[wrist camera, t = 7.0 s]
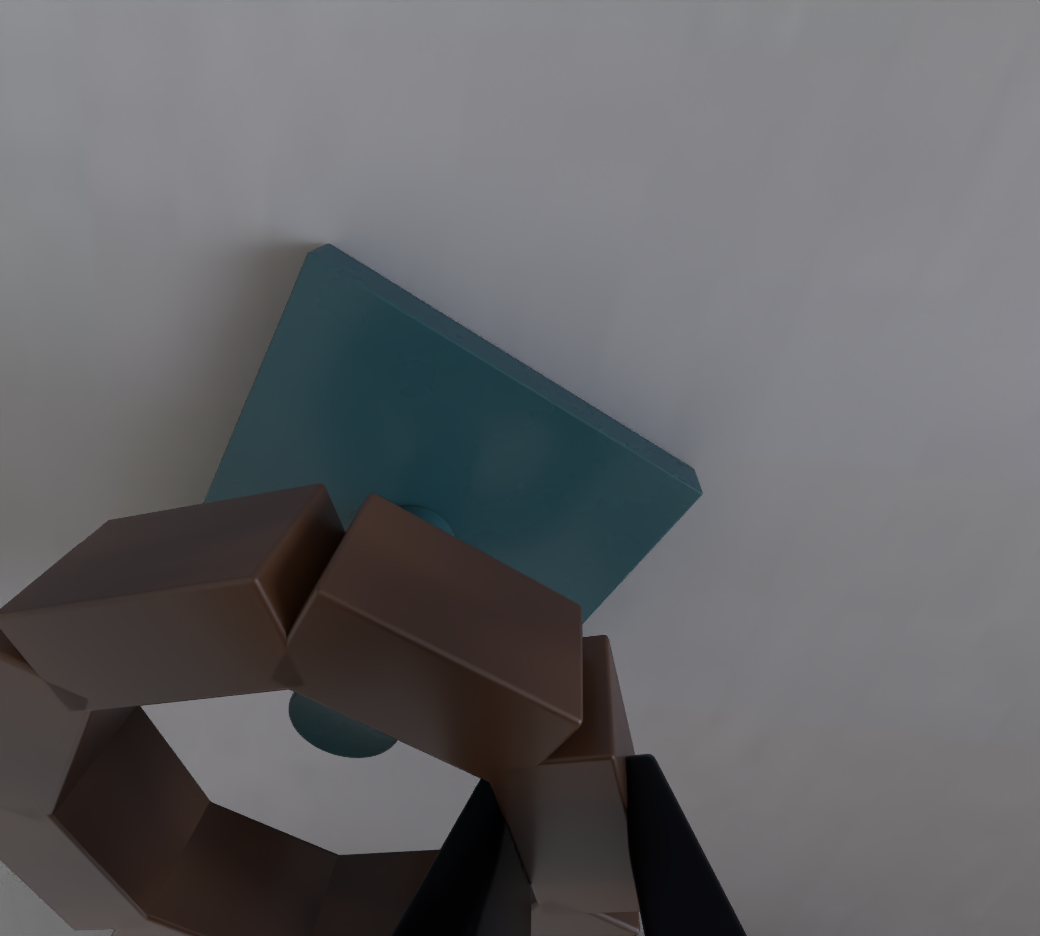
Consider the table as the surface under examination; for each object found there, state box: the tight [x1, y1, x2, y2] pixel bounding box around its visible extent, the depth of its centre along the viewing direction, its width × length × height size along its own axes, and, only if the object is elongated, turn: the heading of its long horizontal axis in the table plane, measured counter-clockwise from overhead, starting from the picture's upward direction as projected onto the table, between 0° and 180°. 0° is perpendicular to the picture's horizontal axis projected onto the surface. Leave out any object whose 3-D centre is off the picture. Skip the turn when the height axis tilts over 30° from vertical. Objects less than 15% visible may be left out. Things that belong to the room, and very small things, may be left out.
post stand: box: [203, 244, 702, 758], centre depth 14 cm, size 10×10×7 cm
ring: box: [0, 483, 640, 936], centre depth 10 cm, size 10×10×2 cm
